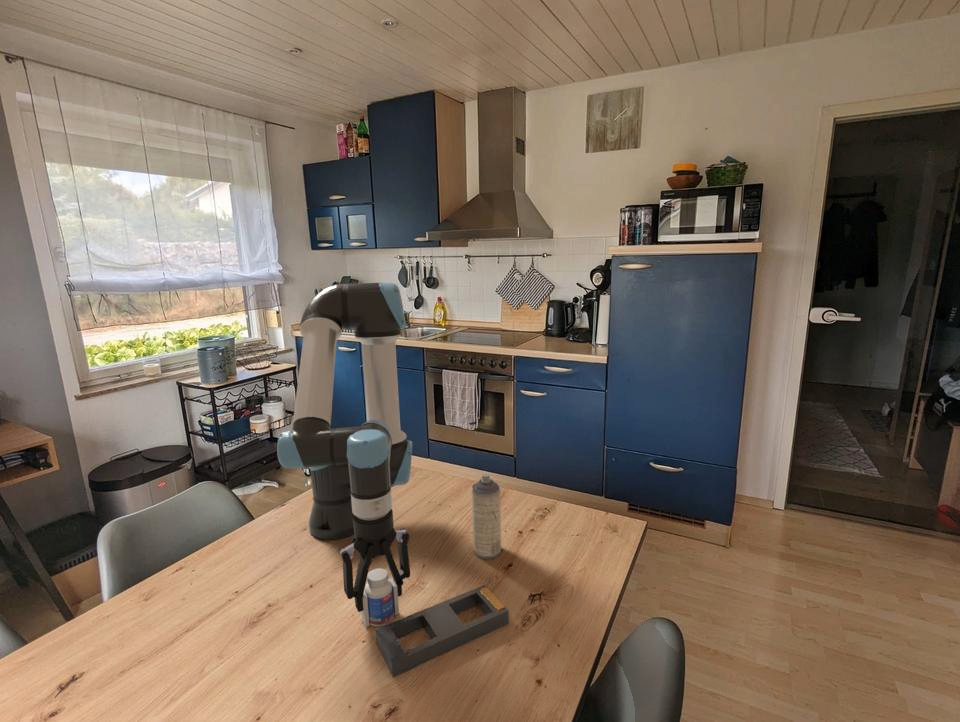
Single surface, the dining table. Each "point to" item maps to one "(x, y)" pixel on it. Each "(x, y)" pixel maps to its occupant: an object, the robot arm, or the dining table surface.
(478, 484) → the aerosol can
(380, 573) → the pill bottle
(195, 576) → the dining table surface
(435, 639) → the grey bottle holder tray
